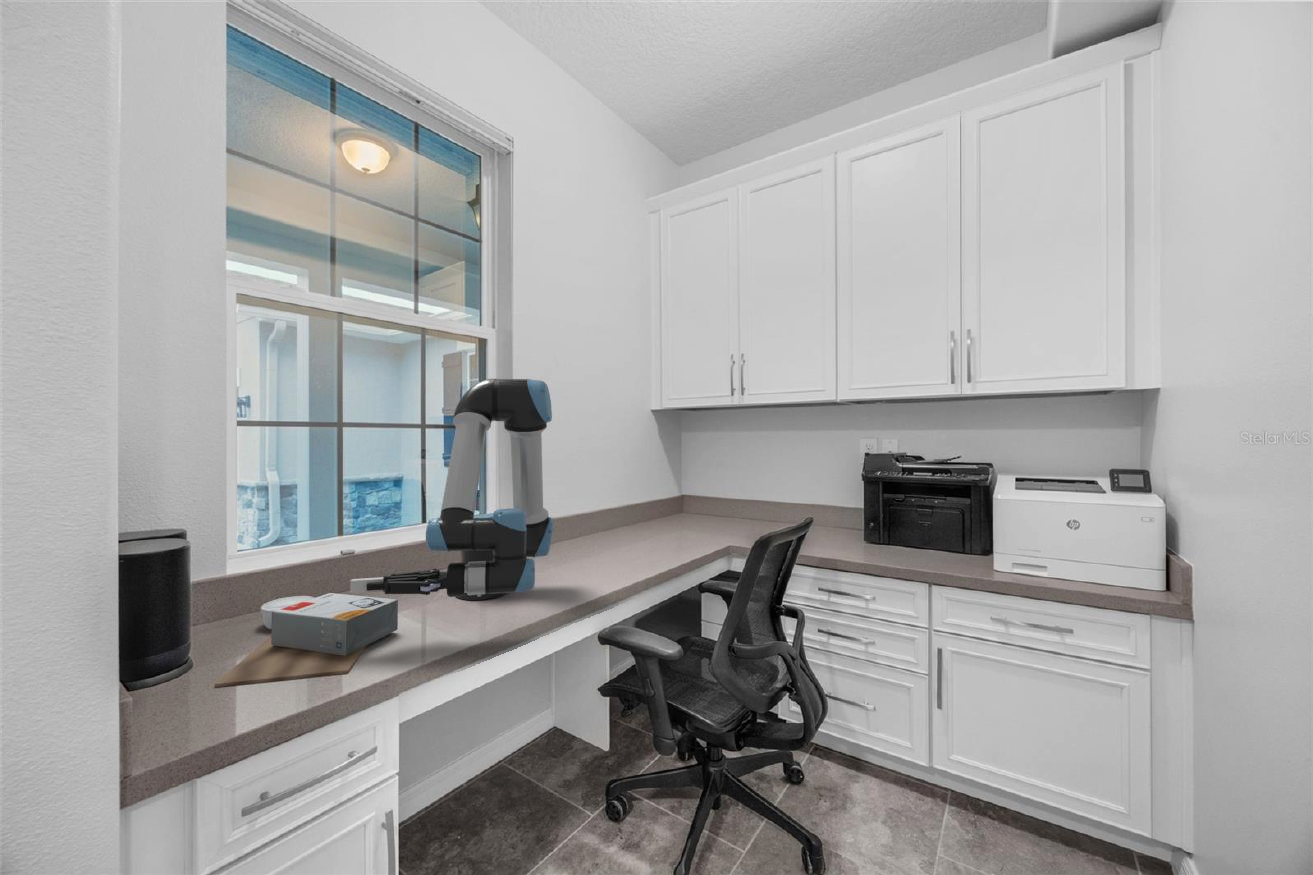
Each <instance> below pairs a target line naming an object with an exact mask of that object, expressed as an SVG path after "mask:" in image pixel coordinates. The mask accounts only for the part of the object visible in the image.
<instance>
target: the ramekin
mask: <svg viewBox="0 0 1313 875" xmlns="http://www.w3.org/2000/svg"><path fill="white" fill-rule="evenodd" d="M313 598H315V597H314V596H310V595H295V596H286V597H280V598H277V599H274V600H270V601H268V602H266V603H263V604H262V605H261V606H260V612H261V614H262V620H263V624H264V626H265V628H267V629H268V630H271V629H272V612H274V611H277V610H280V609H283V608H286V607H289V606H292V605H295V604H298V603H301V602H305V601H308V600H311V599H313Z"/></svg>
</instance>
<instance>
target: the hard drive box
mask: <svg viewBox="0 0 1313 875" xmlns="http://www.w3.org/2000/svg"><path fill="white" fill-rule="evenodd" d="M398 617H399V600H398V599H396V598H395V599H394V598H384V597H376V596H375V597H373V596H364V595H363V596H362V595H354V594H353V595H352V594H344V593H335V592H333V593H332V592H328V593H326V594H322V595H320V596H316V597H314V598H313V599H311V600H308V601H305V602H301V603H298V604H295V605H292V606H289V607H286V608H283V609H280V610H277V611H274V612H272V630H271V629H270V630H271V635H270V636H271V645H274V646H281V647H288V648H295V649H302V650H309V651H316V652H323V653H330V654H337V655H344V656H346V655H349V654H350V653H352V652H354V651H357V650H359V649H361V648H363V647H364V646H366V647H367V646H369V645H370V644H372V643H374V642H376V641H378V640H380V639H382V638H384V637H387V636H388V635H390V634H391V633H394V632H396V631H398V629H399V628H398V626H399V623H398V619H399V618H398Z"/></svg>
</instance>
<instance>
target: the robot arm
mask: <svg viewBox="0 0 1313 875" xmlns="http://www.w3.org/2000/svg"><path fill="white" fill-rule="evenodd" d="M552 411H553V410H552V401H551V395H550V389H549V386H548V384H547V383H546V382H545V381H543V380H539V379H531V378H526V379H525V378H524V379H523V378H520V379H519V378H487V379H484V380H480V381H479V382H476V383H475V384H474V385H473V386H471V387H470V388H469V389H467V390H466V392H465V393H464V394H463V395H462V397H461V398H460V400H458V402H457V404H456V407H455V410H454V413H453V418H452V423H453V425H454V426H455V432H454V436H453V442H452V446H451V447H452V448H451V453H450V459H449V464H448V469H447V476H446V480H445V481H446V482H445V485H444V486H445V488H444V492H443V497H442V504H441V508H440V515H439V517H436V518H431V519H430V520H429V521H428V523H427V525H426V529H425V544H426V546H427V548H428V549H429V550H430V551H434V552H448V553H450V552H461V558H460V559H461V562H450V563H448V566H447V569H446V571H441V570H439V569H437V568H433V569H426V570H416V571H408V572H400V573H399V572H398V573H391V574H390V575H388V576H387V575H384V576H381V577H380V576H379V577H368V578H366V577H364V578H353V579H351V580H350V581H349V583H350V587H349V589H350V591H349V594H362V593H363V594H364V593H375V592H377V593H378V592H384V595H424V596H428V595H431V593H435V592H438V591H440V590H446V595H447V596H448V597H450V598H451V597H456V598H457V599H460V600H465V601H481V600H482V601H483V600H490V599H491V600H492V599H496V598H500V597H501V596H504V595H506V594H509V593H510V594H511V593H512V594H514V593H520V592H527V591H532V590H533V588H535V583H536V573H535V572H536V571H535V569H536V565H535V564H536V563H535V559H533V558H537V557H538V558H539V557H546V556H547V555H549V553H550V550H551V543H552V537H553V529H554V528H553V527H554V521H555V519H554V518H553V517H551V516H549V511H548V510H547V509H546V508H545V507H544V489H543V488H544V487H543V486H544V485H543V483H544V482H543V446H542V442H543V441H542V440H543V439H542V433H543V432H544V431H545V430H547V427H548V426H547V423H550V422H551V421H552V419H553V413H552ZM492 422H503V427H504V430H505V431H507V433H509V436H510V438H509V439H510V456H511V457H510V459H511V460H510V461H511V477H512V478H511V481H512V483H511V485H512V500H513V501H512V502H513V503H512V505H513V506H512V507H513V508H499V509H496V510H494V511H493V512H492V513H491V512H490V513H484V514H478V515H475V512H476V504H477V497H478V492H479V491H478V490H479V484H480V475H481V471H482V470H481V469H482V461H483V456H484V448H485V442H486V441H485V440H486V435H487V432H488V431H489V430H490V429H491V426H492Z"/></svg>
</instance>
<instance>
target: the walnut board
mask: <svg viewBox="0 0 1313 875" xmlns="http://www.w3.org/2000/svg"><path fill="white" fill-rule="evenodd" d="M366 648H367V645H366V646H364V647H363V648H361V649H359V650H357V651H354V652H352V653H350V654H349V655H346V656H344V655H337V654H330V653H323V652H316V651H309V650H302V649H295V648H288V647H281V646H274V645H271V635H270V636H269V637H268V638H267V639H266V640H264V641H263V642H262V643H261V644H260V645H258V646H257V647H256V648H255V649H254V650H253V651H251V652H250V653H249V654H248V655H247V656H245V657H244V659H242V660H240V662H239V663H237V664H236V665H235V666H234V667H232V668H231V670H229V671H228V672H227V673H226V674H224V676H222V677H221V678H220V679H218V681H216V682H215V683H214V688H221V687H230V686H241V685H247V684H248V685H249V684H260V683H268V682H269V683H270V682H279V681H286V680H297V679H298V680H299V679H305V678H314V677H323V676H324V677H325V676H333V675H343V674H349V673H350V671H351V670H352V668H353V667H354V665H355V664H356V662H357V660H358V659H359V658H360V656H361V655H362V653H363V652H364V650H365V649H366Z"/></svg>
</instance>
